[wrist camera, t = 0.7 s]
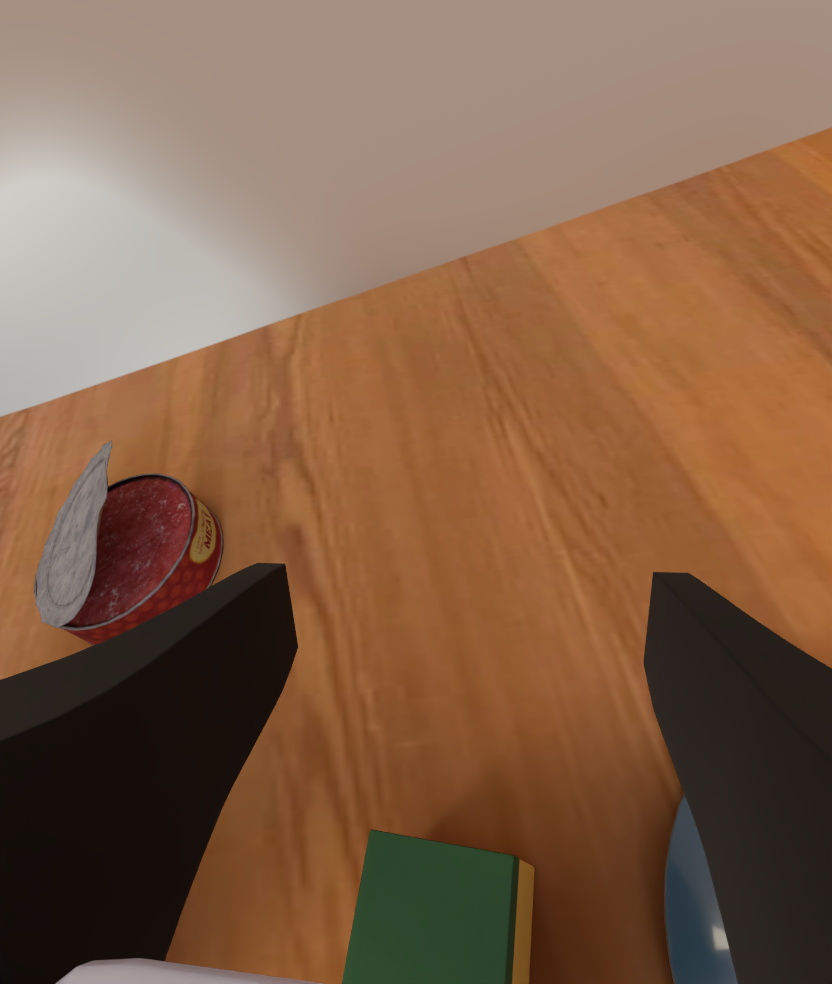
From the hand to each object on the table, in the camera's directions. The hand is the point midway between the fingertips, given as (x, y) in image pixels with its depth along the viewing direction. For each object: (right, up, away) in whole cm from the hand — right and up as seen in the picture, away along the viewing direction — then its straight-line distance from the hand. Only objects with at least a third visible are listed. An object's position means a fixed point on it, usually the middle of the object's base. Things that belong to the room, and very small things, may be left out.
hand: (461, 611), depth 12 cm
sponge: (+1, -14, +8) cm, 16 cm away
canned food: (-17, -2, +23) cm, 29 cm away
